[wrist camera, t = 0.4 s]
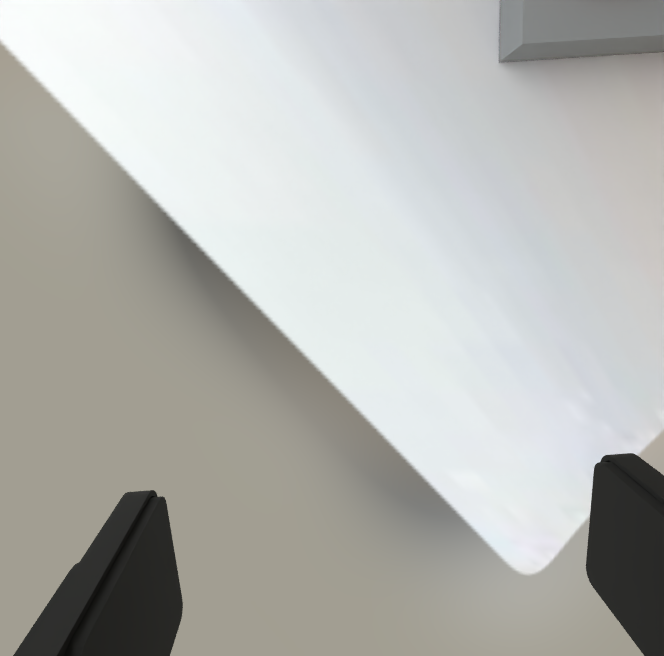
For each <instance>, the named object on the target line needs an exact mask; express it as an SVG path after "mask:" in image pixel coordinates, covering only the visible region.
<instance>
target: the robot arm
mask: <svg viewBox="0 0 664 656" xmlns="http://www.w3.org/2000/svg"><path fill="white" fill-rule="evenodd" d="M586 571H587V575H588V578H589V581H590V583H591V585H592V586H593V588H594V589H595V590H596V592H597V593H598V594H599V596H600V597H601V598H602V600H603V601H604V602H605V603H606V605H607V606H608V608H609V609H610V610H611V612H612V613H613V614H614V616H615V617H616V618H617V620H618V621H619V622H620V623H621V625H622V626H623V627H624V629H625V630H626V632H627V633H628V634H629V636H630V637H631V638H632V640H633V641H634V642H635V644H636V645H637V646H638V648H639V649H640V650H641V652H642V653H643V654H644V656H664V476H663V475H662V474H661V473H660V472H658V471H657V470H656V469H654V468H653V467H652V466H650V465H649V464H648V463H646V462H645V461H644V460H642V459H641V458H640V457H638V456H637V455H635V454H632V453H628V454H615V455H605V456H604V457H603V458H602V459H601V462H600V463H597V464H596V465H595V468H594V476H593V488H592V500H591V512H590V525H589V536H588V549H587V561H586ZM182 606H183V603H182V595H181V590H180V583H179V577H178V571H177V565H176V559H175V553H174V547H173V541H172V535H171V529H170V522H169V516H168V510H167V504H166V500H165V498H164V497H157V494H156V492H155V491H154V490H151V491H138V492H127V493H125V494H124V495H123V497H122V498H121V500H120V501H119V503H118V504H117V506H116V507H115V509H114V511H113V512H112V514H111V515H110V517H109V518H108V520H107V521H106V523H105V524H104V526H103V527H102V529H101V530H100V532H99V533H98V535H97V536H96V538H95V540H94V541H93V543H92V544H91V546H90V547H89V549H88V550H87V552H86V553H85V555H84V556H83V558H82V559H81V561H80V562H79V563H77V564H75V565H74V566H73V568H72V569H71V570H70V571H69V573H68V574H67V576H66V577H65V579H64V580H63V582H62V583H61V585H60V586H59V588H58V589H57V591H56V593H55V594H54V595H53V597H52V598H51V600H50V601H49V603H48V604H47V606H46V607H45V609H44V610H43V612H42V613H41V615H40V616H39V618H38V619H37V621H36V622H35V624H34V625H33V627H32V628H31V630H30V632H29V633H28V634H27V636H26V637H25V639H24V641H23V642H22V643H21V645H20V646H19V648H18V650H17V651H16V653H15V654H14V655H13V656H170V653H171V650H172V647H173V644H174V640H175V637H176V634H177V631H178V628H179V625H180V621H181V617H182V608H183V607H182Z"/></svg>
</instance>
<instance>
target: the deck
mask: <svg viewBox="0 0 664 656" xmlns="http://www.w3.org/2000/svg"><path fill="white" fill-rule="evenodd" d="M652 52H664V0H500V31H499V62H512V61H528V60H543V59H559V58H574V57H590V56H606V55H621V54H637V53H652Z"/></svg>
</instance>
